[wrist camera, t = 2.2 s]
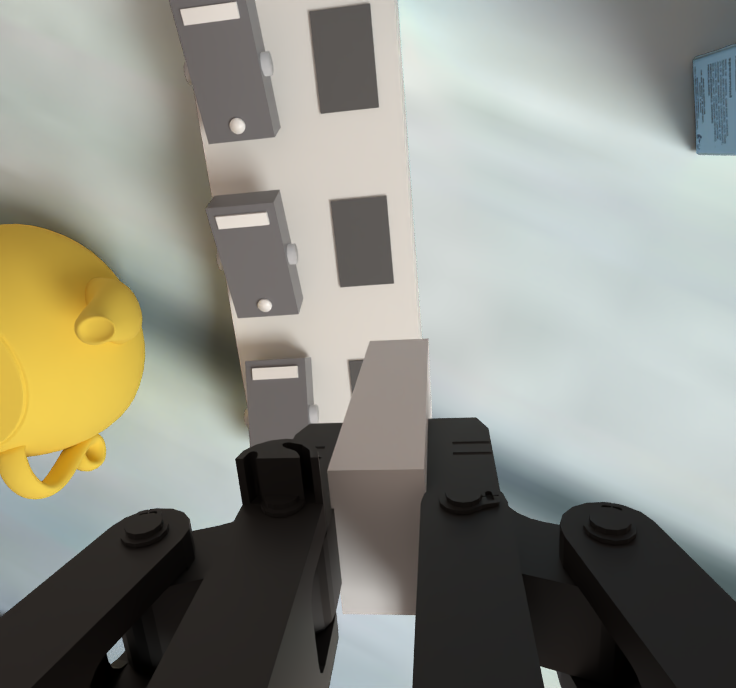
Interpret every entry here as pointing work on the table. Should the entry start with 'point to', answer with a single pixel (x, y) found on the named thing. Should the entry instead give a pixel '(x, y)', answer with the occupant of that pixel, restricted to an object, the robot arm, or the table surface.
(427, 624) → the robot arm
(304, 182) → the switch panel
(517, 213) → the table surface
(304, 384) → the block
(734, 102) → the gum box
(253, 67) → the rocker
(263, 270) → the rocker
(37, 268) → the teapot
